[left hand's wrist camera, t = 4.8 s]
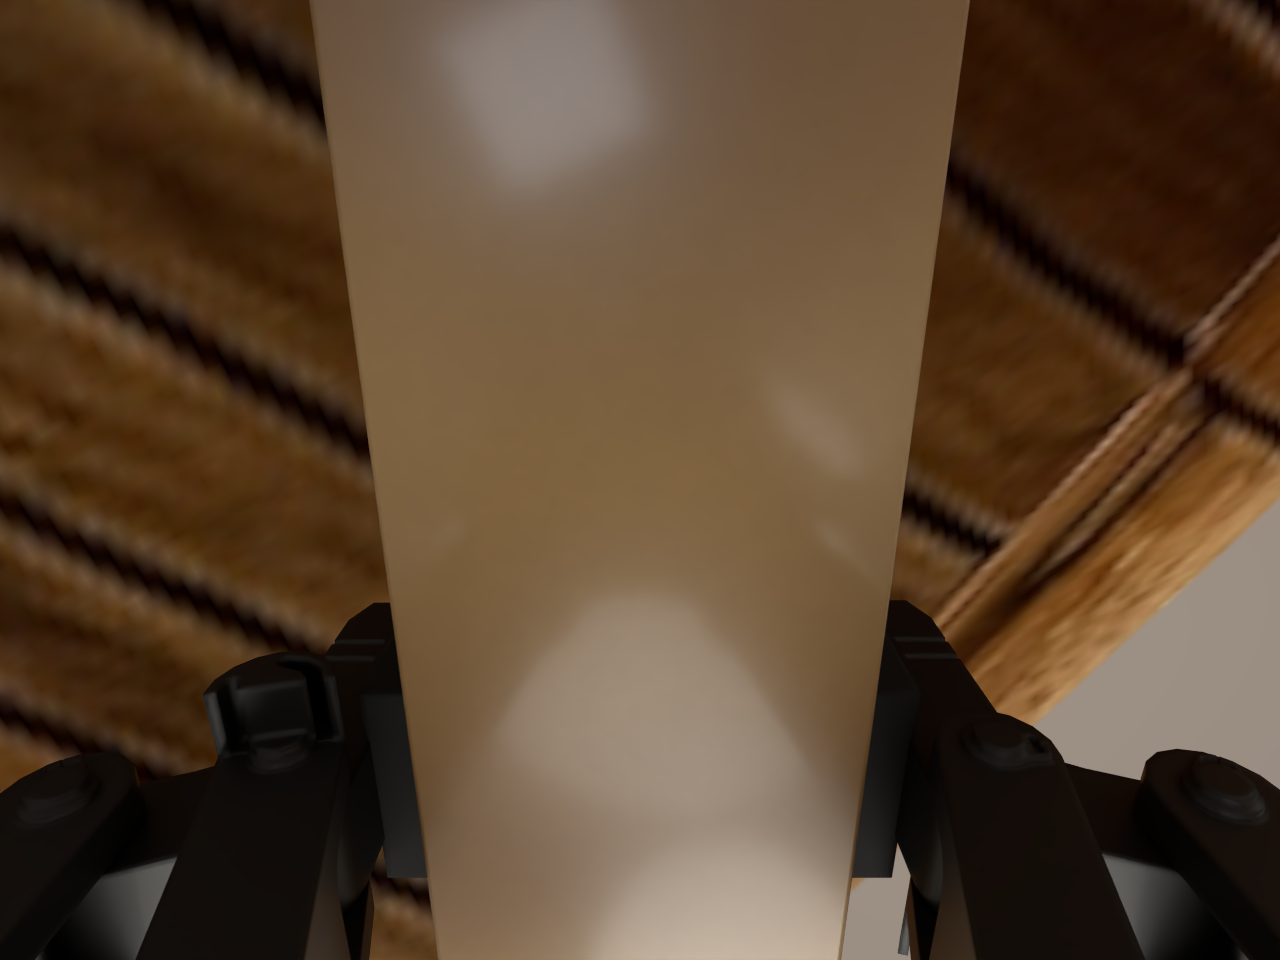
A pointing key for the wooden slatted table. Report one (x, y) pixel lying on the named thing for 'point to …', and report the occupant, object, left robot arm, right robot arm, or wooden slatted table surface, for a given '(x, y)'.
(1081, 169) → the wooden slatted table surface
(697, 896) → the bar
